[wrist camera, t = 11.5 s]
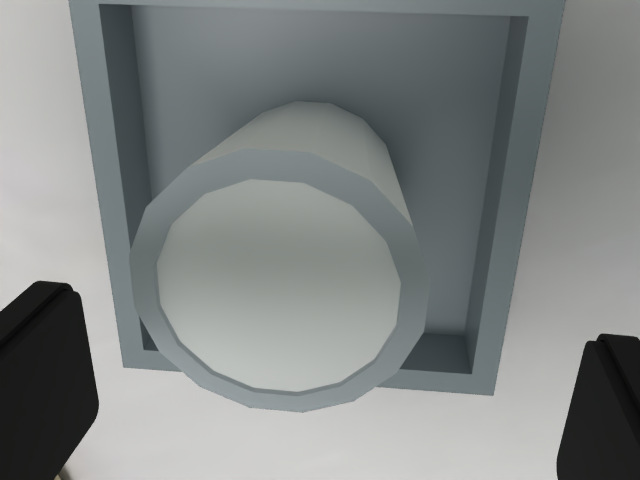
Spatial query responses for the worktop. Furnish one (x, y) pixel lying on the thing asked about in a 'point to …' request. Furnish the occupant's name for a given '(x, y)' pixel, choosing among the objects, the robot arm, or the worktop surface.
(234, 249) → the white cylinder
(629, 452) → the robot arm
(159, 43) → the tray
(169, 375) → the worktop surface
